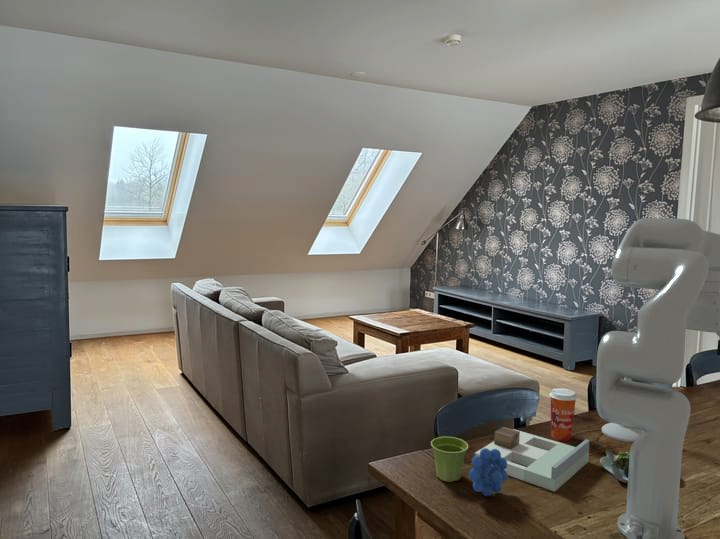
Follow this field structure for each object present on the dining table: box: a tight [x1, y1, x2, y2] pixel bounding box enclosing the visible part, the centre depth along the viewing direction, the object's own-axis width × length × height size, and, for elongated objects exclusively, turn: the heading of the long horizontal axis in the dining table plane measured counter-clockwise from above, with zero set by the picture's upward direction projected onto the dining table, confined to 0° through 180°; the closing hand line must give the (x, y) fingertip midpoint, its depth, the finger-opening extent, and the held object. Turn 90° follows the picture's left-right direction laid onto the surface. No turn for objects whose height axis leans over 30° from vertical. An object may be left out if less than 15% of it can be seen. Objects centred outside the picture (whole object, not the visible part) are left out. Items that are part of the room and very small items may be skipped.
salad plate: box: [599, 449, 630, 486], centre depth 146 cm, size 19×18×5 cm
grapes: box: [468, 447, 509, 497], centre depth 131 cm, size 12×7×12 cm, turn 120°
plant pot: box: [430, 436, 469, 483], centre depth 142 cm, size 9×9×9 cm
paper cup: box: [549, 387, 578, 442], centre depth 167 cm, size 8×8×14 cm
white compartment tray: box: [474, 428, 590, 493], centre depth 150 cm, size 22×22×6 cm
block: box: [493, 426, 520, 449], centre depth 155 cm, size 5×5×4 cm
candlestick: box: [601, 377, 645, 443], centre depth 169 cm, size 13×13×30 cm
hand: (698, 351), depth 148 cm, fingers open, 9 cm apart
